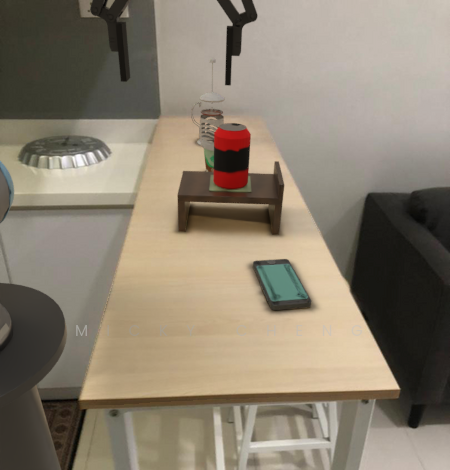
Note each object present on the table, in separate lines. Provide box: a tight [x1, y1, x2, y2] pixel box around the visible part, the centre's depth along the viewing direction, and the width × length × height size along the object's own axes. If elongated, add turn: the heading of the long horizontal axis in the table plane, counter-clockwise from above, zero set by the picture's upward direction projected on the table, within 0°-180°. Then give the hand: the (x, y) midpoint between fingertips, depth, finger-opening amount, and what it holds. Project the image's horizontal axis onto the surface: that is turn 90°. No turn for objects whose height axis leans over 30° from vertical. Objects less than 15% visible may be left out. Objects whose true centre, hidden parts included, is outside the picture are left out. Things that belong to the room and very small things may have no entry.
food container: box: [200, 138, 214, 172], centre depth 125 cm, size 12×6×10 cm, turn 88°
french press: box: [190, 57, 226, 146], centre depth 146 cm, size 10×12×25 cm
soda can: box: [213, 122, 252, 189], centre depth 99 cm, size 8×8×12 cm
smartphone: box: [252, 258, 312, 311], centre depth 85 cm, size 7×1×15 cm
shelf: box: [177, 160, 285, 236], centre depth 104 cm, size 22×14×12 cm, turn 89°
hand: (176, 81), depth 62 cm, fingers open, 13 cm apart
